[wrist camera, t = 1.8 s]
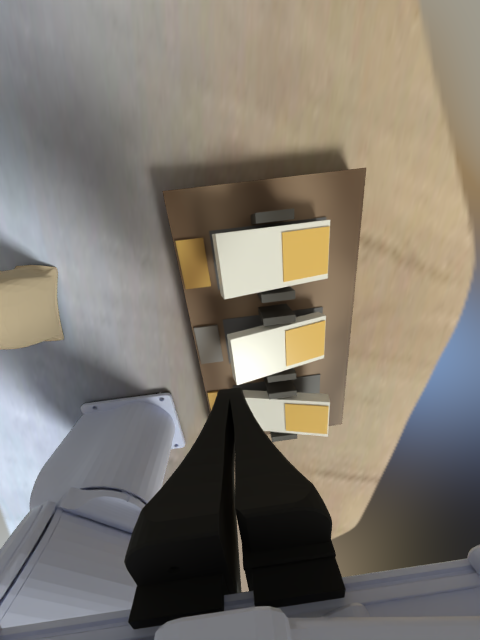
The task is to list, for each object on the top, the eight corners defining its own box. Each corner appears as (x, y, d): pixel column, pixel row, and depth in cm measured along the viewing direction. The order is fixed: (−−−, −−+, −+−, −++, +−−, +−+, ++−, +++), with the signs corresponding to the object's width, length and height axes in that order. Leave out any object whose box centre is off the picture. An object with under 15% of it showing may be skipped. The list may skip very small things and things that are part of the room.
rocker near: (221, 295, 15) (225, 299, 14) (211, 234, 14) (215, 234, 13) (319, 276, 17) (328, 278, 16) (320, 220, 16) (331, 219, 15)
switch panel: (216, 426, 26) (215, 464, 22) (169, 195, 17) (150, 183, 12) (333, 410, 26) (354, 445, 22) (350, 174, 17) (392, 156, 13)
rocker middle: (233, 377, 18) (237, 386, 17) (226, 334, 16) (231, 340, 15) (316, 352, 20) (324, 358, 19) (318, 311, 18) (326, 315, 17)
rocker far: (243, 420, 23) (241, 429, 22) (238, 389, 21) (236, 398, 20) (326, 427, 21) (327, 437, 20) (328, 394, 19) (330, 403, 18)
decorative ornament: (16, 332, 20) (-52, 366, 15) (1, 237, 17) (-89, 241, 12) (64, 340, 21) (14, 375, 16) (58, 249, 18) (-6, 257, 13)
